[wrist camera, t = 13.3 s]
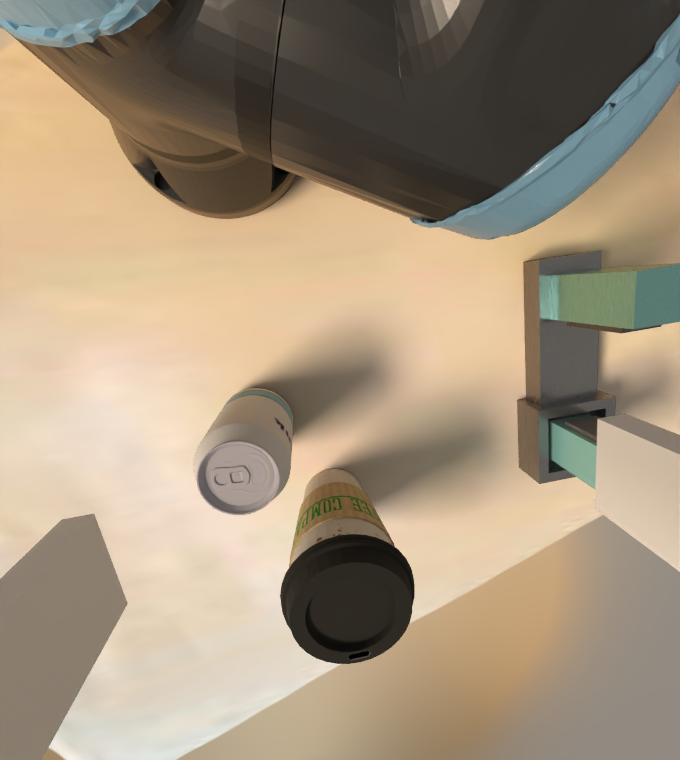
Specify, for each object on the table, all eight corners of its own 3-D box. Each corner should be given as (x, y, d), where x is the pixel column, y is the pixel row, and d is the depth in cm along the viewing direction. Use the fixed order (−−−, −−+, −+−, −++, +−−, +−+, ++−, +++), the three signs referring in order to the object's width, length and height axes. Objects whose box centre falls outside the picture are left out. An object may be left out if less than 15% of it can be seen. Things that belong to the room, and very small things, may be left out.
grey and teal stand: (513, 263, 35) (609, 252, 24) (591, 251, 36) (720, 235, 25) (519, 467, 41) (599, 533, 30) (586, 454, 41) (689, 514, 30)
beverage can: (298, 445, 38) (296, 515, 26) (230, 455, 37) (197, 531, 25) (288, 380, 36) (281, 424, 24) (216, 390, 35) (175, 440, 24)
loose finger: (549, 416, 37) (625, 455, 28) (588, 409, 37) (675, 446, 29) (549, 458, 38) (622, 508, 30) (587, 451, 38) (670, 498, 30)
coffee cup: (371, 445, 38) (414, 539, 24) (383, 524, 41) (428, 654, 26) (279, 462, 38) (265, 570, 23) (296, 542, 40) (293, 684, 26)
